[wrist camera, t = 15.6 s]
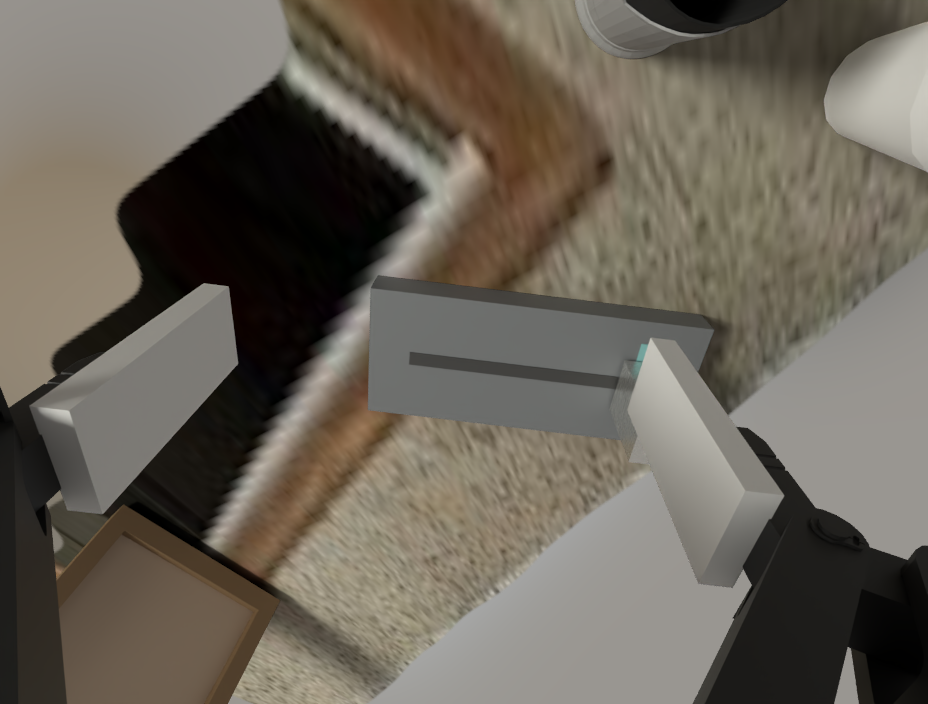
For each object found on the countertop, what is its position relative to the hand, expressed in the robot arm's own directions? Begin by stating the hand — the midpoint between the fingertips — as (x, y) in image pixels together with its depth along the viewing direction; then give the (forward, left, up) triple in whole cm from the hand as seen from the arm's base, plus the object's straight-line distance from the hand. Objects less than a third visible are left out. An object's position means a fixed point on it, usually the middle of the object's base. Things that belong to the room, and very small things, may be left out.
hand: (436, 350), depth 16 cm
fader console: (+7, -14, -27) cm, 31 cm away
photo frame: (-31, -51, -27) cm, 65 cm away
